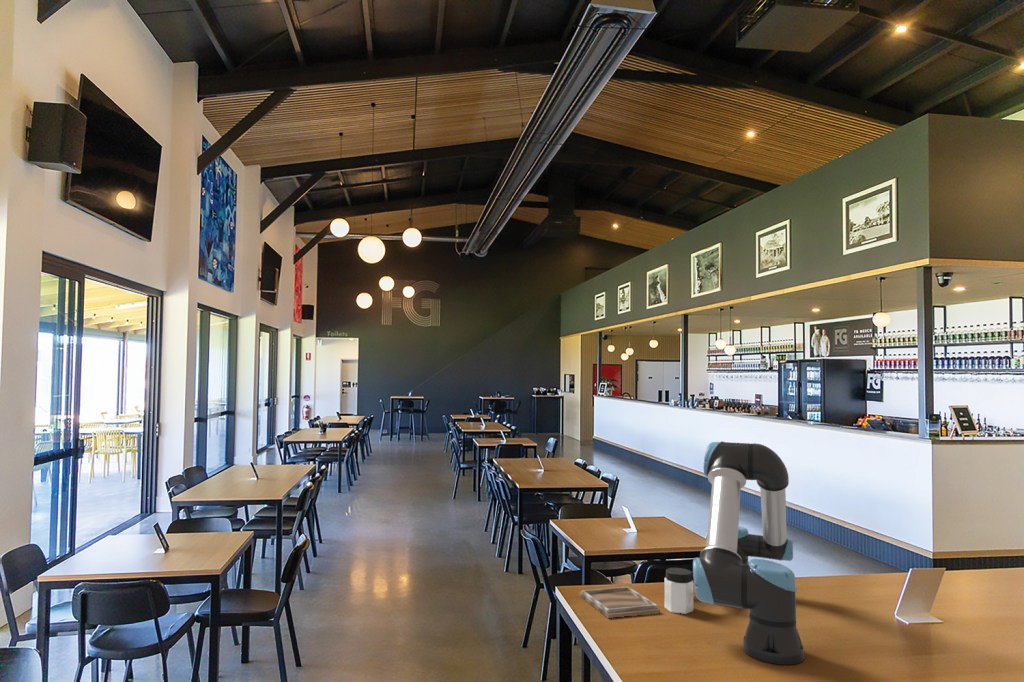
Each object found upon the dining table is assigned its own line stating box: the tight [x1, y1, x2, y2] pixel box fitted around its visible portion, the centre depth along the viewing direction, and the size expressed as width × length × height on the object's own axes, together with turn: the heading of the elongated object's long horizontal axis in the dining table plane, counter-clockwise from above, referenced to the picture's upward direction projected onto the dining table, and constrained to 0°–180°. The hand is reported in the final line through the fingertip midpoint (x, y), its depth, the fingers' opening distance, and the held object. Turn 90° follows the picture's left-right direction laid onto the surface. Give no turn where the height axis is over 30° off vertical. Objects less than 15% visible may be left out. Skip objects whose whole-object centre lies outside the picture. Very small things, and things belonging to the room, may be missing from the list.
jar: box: [664, 567, 694, 615], centre depth 199 cm, size 9×8×12 cm
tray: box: [578, 586, 661, 619], centre depth 202 cm, size 22×18×2 cm
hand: (682, 587), depth 200 cm, fingers open, 13 cm apart
